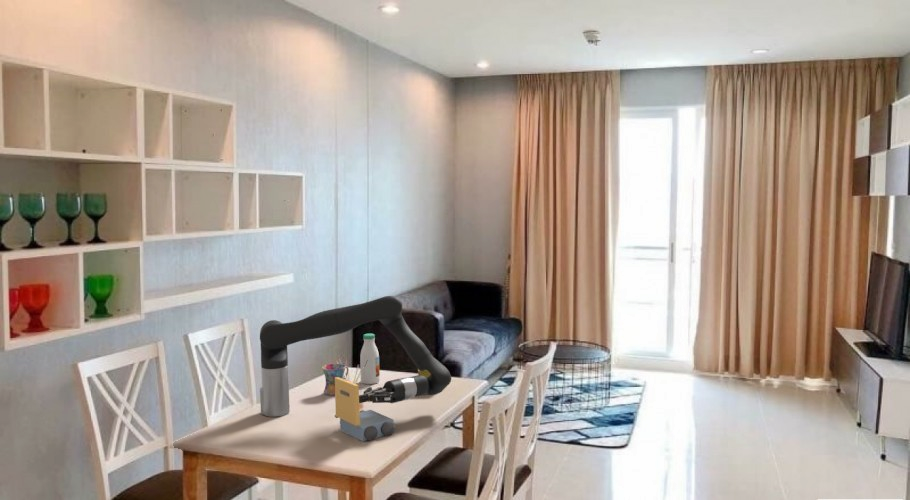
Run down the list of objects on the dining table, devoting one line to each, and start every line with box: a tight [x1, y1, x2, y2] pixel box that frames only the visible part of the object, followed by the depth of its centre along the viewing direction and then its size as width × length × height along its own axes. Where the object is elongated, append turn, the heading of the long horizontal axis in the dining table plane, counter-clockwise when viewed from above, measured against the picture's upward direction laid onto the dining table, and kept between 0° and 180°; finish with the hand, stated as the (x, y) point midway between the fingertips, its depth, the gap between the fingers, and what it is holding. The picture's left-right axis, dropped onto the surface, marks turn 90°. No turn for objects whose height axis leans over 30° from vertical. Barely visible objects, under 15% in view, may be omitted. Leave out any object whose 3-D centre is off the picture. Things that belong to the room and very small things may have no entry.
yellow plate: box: [334, 377, 361, 429], centre depth 234 cm, size 2×15×14 cm, turn 39°
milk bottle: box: [359, 333, 381, 385], centre depth 297 cm, size 8×8×20 cm
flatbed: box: [339, 409, 395, 442], centre depth 239 cm, size 12×16×4 cm
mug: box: [321, 363, 349, 396], centre depth 284 cm, size 12×9×11 cm
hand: (356, 400), depth 236 cm, fingers closed
